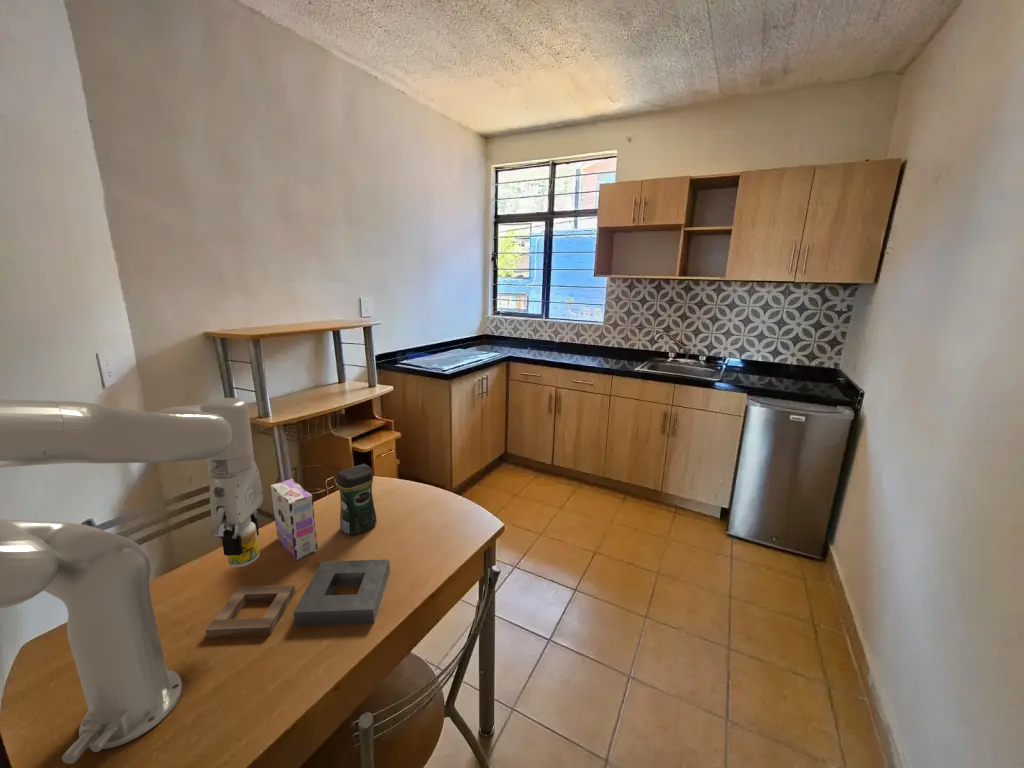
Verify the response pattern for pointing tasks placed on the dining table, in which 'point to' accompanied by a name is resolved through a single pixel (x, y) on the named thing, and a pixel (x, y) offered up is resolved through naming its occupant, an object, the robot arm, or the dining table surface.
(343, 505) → the coffee jar
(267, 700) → the dining table surface
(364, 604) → the block
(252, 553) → the supplement bottle
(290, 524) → the candy box
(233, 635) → the walnut frame
